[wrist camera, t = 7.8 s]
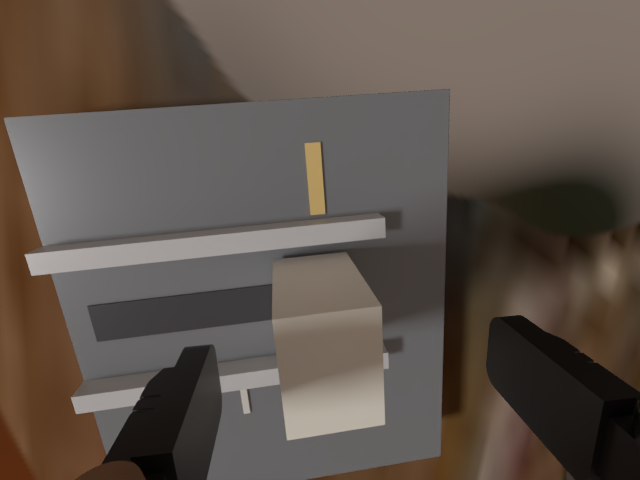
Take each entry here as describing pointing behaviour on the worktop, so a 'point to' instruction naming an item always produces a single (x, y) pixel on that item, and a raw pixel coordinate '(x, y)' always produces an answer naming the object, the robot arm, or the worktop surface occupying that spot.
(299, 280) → the fader tab
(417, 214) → the fader console
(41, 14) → the worktop surface
